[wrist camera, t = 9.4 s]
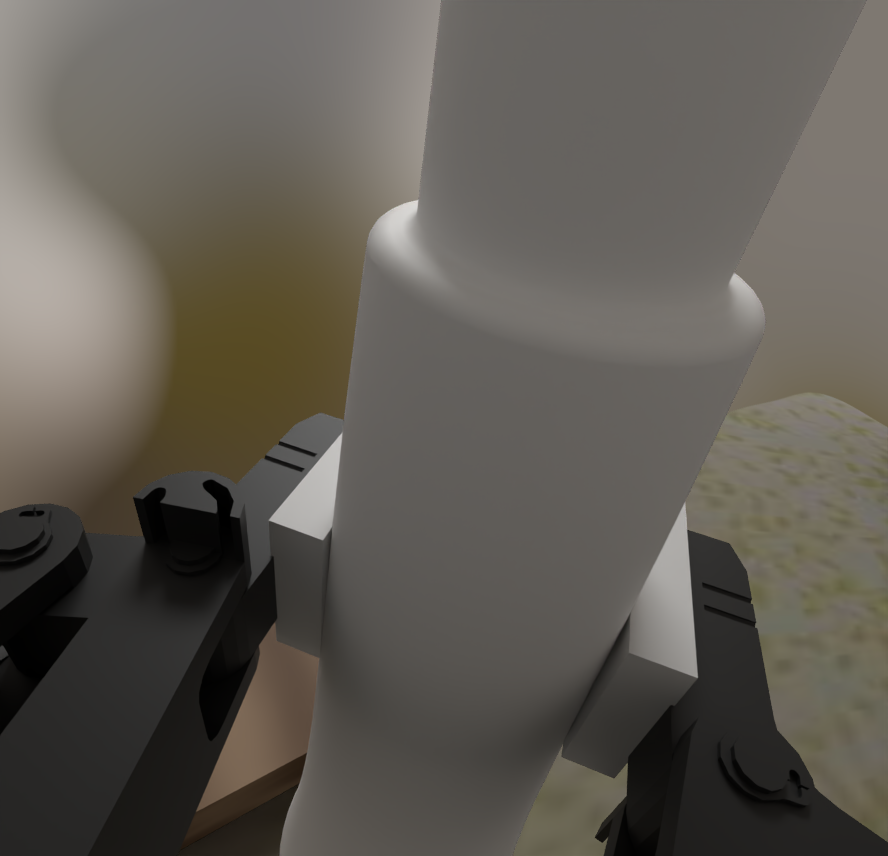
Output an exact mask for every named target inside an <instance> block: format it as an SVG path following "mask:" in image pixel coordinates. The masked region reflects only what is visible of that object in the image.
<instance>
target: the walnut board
mask: <svg viewBox="0 0 888 856" xmlns="http://www.w3.org/2000/svg"><path fill="white" fill-rule="evenodd" d="M259 649H260V656H259V660H258V665H257V669H256V672H255V674H254V676H253V679H252V681H251V683H250V686H249V688H248V691H247V693H246V695H245V698H244V700H243V702H242V705H241V707H240V709H239V712H238V714H237V716H236V719H235V721H234V723H233V726H232V728H231V731H230V733H229V735H228V738H227V740H226V742H225V745H224V747H223V749H222V752H221V754H220V756H219V759H218V761H217V763H216V766H215V768H214V771H213V773H212V775H211V778H210V780H209V782H208V785H207V787H206V789H205V792H204V794H203V796H202V799H201V801H200V803H199V806H198V808H197V810H196V813H195V815H194V818H193V820H192V822H191V825H190V827H189V829H188V832H187V834H186V836H185V839H184V841H183V843H182V846H181V848H180V850H181V849H183V848H185V847H187V846H188V845H190V844H192V843H194V842H196V841H197V840H199V839H201V838H203V837H204V836H206V835H208V834H210V833H212V832H213V831H215V830H217V829H219V828H220V827H222V826H224V825H226V824H228V823H229V822H231V821H233V820H235V819H237V818H238V817H240V816H242V815H244V814H245V813H247V812H249V811H251V810H253V809H254V808H256V807H258V806H260V805H262V804H263V803H265V802H267V801H269V800H270V799H272V798H274V797H276V796H278V795H279V794H281V793H283V792H285V791H286V790H288V789H290V788H292V787H294V786H295V785H297V784H299V783H300V781H301V778H302V774H303V770H304V765H305V761H306V756H307V751H308V746H309V739H310V732H311V725H312V718H313V709H314V701H315V692H316V683H317V674H318V665H319V658H318V657H315V656H313V655H310V654H308V653H305V652H303V651H300V650H298V649H295V648H293V647H291V646H288V645H286V644H283V643H281V642H278V641H276V626H275V623H274V624H273V625H272V627H271V628H270V630H269V631H268V633H267V634H266V636H265V637H264V639H263V640H262V642H261V643H260V645H259Z"/></svg>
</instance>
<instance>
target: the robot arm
mask: <svg viewBox="0 0 888 856" xmlns="http://www.w3.org/2000/svg"><path fill="white" fill-rule="evenodd" d="M343 424H344V420H342V419H339V418H335V417H332V416H329V415H326V414H323V413H319V414H317V415H315V416H312V417H310V418H308V419H306V420H304V421H302V422H299V423H297V424H296V425H295V426H294V427H293V428H292V429H291V430H290V431H289V432H288V433H287V434H286V435H285V436H284V437H283V438H282V439H281V440H280V441H279V444H278V445H275V446H274V447H273V448H272V449H271V450H270V451H269V452H268V453H267V454H266V456H265V458H264V459H261V460H260V461H259V462H258V463H257V464H256V465H255V466H254V467H253V468H252V469H251V470H250V471H249V472H248V473H247V474H246V475H245V476H244V478H242V479H241V481H240V482H238V484H236V485H235V483H233V482H232V481H231V480H230V479H229V478H226V477H224V476H221V475H218V474H216V473H213V472H200V471H188V472H183V473H178V474H172V475H168V476H166V477H163V478H161V479H159V480H157V481H154V482H152V483H150V484H148V485H147V486H146V487H145V488H143V489H142V490H141V491H140V492H139V493H137V494H136V495H135V496H134V497H133V499H134V503H135V506H136V510H137V513H138V517H139V521H140V525H141V528H142V532H143V536H140V537H139V536H138V537H136V536H122V535H108V534H93V533H85V530H84V527H83V525H82V522H81V519H80V517H79V516H78V515H76V514H75V513H74V512H73V511H71V510H70V509H69V508H66V507H62V506H58V505H54V504H34V505H26V506H22V507H18V508H15V509H11V510H7V511H4V512H2V513H0V856H177V855H178V853H179V850H180V848H181V846H182V843H183V841H184V839H185V836H186V834H187V832H188V829H189V827H190V825H191V822H192V820H193V818H194V815H195V813H196V810H197V808H198V806H199V803H200V801H201V799H202V796H203V794H204V792H205V789H206V787H207V785H208V782H209V780H210V778H211V775H212V773H213V771H214V768H215V766H216V763H217V761H218V759H219V756H220V754H221V752H222V749H223V747H224V745H225V742H226V740H227V738H228V735H229V733H230V731H231V728H232V726H233V723H234V721H235V719H236V716H237V714H238V712H239V709H240V707H241V705H242V702H243V700H244V698H245V695H246V693H247V691H248V688H249V686H250V683H251V681H252V679H253V676H254V674H255V672H256V669H257V665H258V660H259V656H260V649H259V645H260V643H261V642H262V640H263V639H264V637H265V636H266V634H267V633H268V631H269V630H270V628H271V627H272V625H273V624H274V623H275V626H276V641H278V642H281V643H283V644H286V645H288V646H291V647H293V648H295V649H298V650H300V651H303V652H305V653H308V654H310V655H313V656H315V657H318V658H320V657H321V645H322V633H323V622H324V611H325V601H326V590H327V579H328V569H329V558H330V547H331V536H332V526H333V515H334V506H335V497H336V488H337V479H338V470H339V461H340V451H341V442H342V433H343ZM751 600H752V597H751V592H750V586H749V581H748V575H747V571H746V569H745V568H744V566H743V564H742V563H741V561H740V560H739V558H738V556H737V555H736V553H735V552H734V550H733V548H732V547H731V545H730V544H729V543H726V542H723V541H720V540H717V539H714V538H711V537H708V536H705V535H702V534H699V533H696V532H693V531H689V530H687V522H686V508H685V503H684V505H683V507H682V509H681V511H680V513H679V516H678V518H677V520H676V522H675V524H674V526H673V528H672V530H671V532H670V534H669V536H668V538H667V540H666V542H665V544H664V546H663V548H662V550H661V552H660V554H659V556H658V558H657V560H656V562H655V564H654V566H653V568H652V570H651V572H650V574H649V576H648V578H647V580H646V582H645V584H644V586H643V588H642V590H641V592H640V594H639V596H638V598H637V600H636V602H635V604H634V606H633V608H632V610H631V612H630V614H629V616H628V618H627V620H626V622H625V624H624V626H623V628H622V630H621V632H620V634H619V636H618V638H617V640H616V642H615V644H614V646H613V648H612V650H611V652H610V654H609V655H608V657H607V659H606V661H605V663H604V665H603V667H602V669H601V671H600V673H599V675H598V677H597V679H596V681H595V683H594V684H593V686H592V688H591V690H590V692H589V694H588V696H587V698H586V699H585V701H584V703H583V705H582V707H581V709H580V711H579V713H578V715H577V716H576V718H575V720H574V722H573V724H572V726H571V728H570V730H569V732H568V733H567V735H566V737H565V739H564V742H563V749H562V757H563V758H566V759H568V760H570V761H573V762H575V763H578V764H580V765H583V766H585V767H588V768H590V769H592V770H595V771H597V772H600V773H602V774H605V775H607V776H610V777H612V778H615V777H616V776H617V775H618V773H619V772H620V771H621V770H622V769H623V767H624V766H625V765H626V764H627V763H628V777H627V796H626V797H625V798H624V799H623V801H622V802H621V803H620V804H619V805H618V806H617V807H616V808H615V809H614V810H613V812H612V813H611V814H610V815H609V816H608V817H607V818H606V819H605V820H604V821H603V823H602V824H601V826H600V828H599V830H598V832H597V834H596V836H595V838H596V839H597V840H599V841H600V842H602V843H603V842H604V841H605V840H606V839H607V838H608V841H607V845H606V849H605V853H604V856H888V842H887V841H885V840H884V839H882V838H881V837H879V836H878V835H877V834H875V833H874V832H872V831H871V830H869V829H868V828H867V827H865V826H864V825H862V824H861V823H859V822H858V821H857V820H855V819H854V818H852V817H851V816H849V815H848V814H847V813H845V812H844V811H842V810H841V809H839V808H838V807H837V806H836V805H834V804H833V803H832V802H831V801H830V800H828V799H827V798H826V797H825V796H823V795H822V794H821V793H820V792H819V791H818V790H817V789H816V788H815V787H814V783H813V779H812V777H811V775H810V774H809V772H808V770H807V768H806V766H805V765H804V763H803V761H802V759H801V757H800V756H799V754H798V753H797V752H796V750H795V749H794V748H793V747H792V746H791V745H790V744H789V743H788V742H787V740H786V739H785V738H784V737H783V736H782V735H781V734H780V733H779V732H778V731H777V728H776V724H775V721H774V717H773V711H772V706H771V700H770V695H769V690H768V684H767V679H766V673H765V668H764V662H763V657H762V652H761V646H760V641H759V635H758V630H757V628H755V623H756V619H755V613H754V608H753V604H751Z"/></svg>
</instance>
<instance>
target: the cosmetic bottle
mask: <svg viewBox="0 0 888 856" xmlns="http://www.w3.org/2000/svg"><path fill="white" fill-rule="evenodd" d="M866 1H867V0H441V8H440V16H439V26H438V35H437V43H436V51H435V60H434V69H433V78H432V86H431V95H430V104H429V112H428V121H427V129H426V139H425V148H424V155H423V164H422V173H421V181H420V190H419V199H418V200H416V201H412V202H408V203H405V204H402V205H400V206H397V207H395V208H393V209H391V210H389V211H388V212H387V213H385V214H384V215H383V216H382V217H380V218H379V219H378V220H377V221H376V223H375V225H374V226H373V228H372V229H371V231H370V233H369V236H368V240H367V246H366V253H365V260H364V267H363V276H362V282H361V291H360V299H359V306H358V314H357V321H356V330H355V337H354V345H353V354H352V361H351V369H350V377H349V385H348V393H347V400H346V408H345V416H344V424H343V433H342V442H341V451H340V461H339V470H338V479H337V488H336V497H335V506H334V515H333V526H332V536H331V547H330V558H329V569H328V579H327V590H326V601H325V611H324V622H323V633H322V645H321V657H320V658H319V665H318V674H317V683H316V692H315V701H314V709H313V718H312V725H311V732H310V739H309V746H308V751H307V756H306V761H305V765H304V770H303V774H302V778H301V781H300V784H299V787H298V789H297V791H296V793H295V795H294V797H293V800H292V802H291V805H290V807H289V810H288V813H287V817H286V820H285V824H284V827H283V832H282V838H281V843H280V854H279V856H513V853H514V850H515V847H516V844H517V841H518V839H519V836H520V834H521V831H522V829H523V826H524V824H525V821H526V819H527V817H528V815H529V812H530V810H531V808H532V806H533V803H534V801H535V799H536V797H537V795H538V793H539V791H540V789H541V787H542V785H543V783H544V781H545V779H546V777H547V775H548V773H549V771H550V769H551V767H552V765H553V763H554V761H555V759H556V757H557V755H558V753H559V751H560V749H561V747H562V745H563V742H564V739H565V737H566V735H567V733H568V732H569V730H570V728H571V726H572V724H573V722H574V720H575V718H576V716H577V715H578V713H579V711H580V709H581V707H582V705H583V703H584V701H585V699H586V698H587V696H588V694H589V692H590V690H591V688H592V686H593V684H594V683H595V681H596V679H597V677H598V675H599V673H600V671H601V669H602V667H603V665H604V663H605V661H606V659H607V657H608V655H609V654H610V652H611V650H612V648H613V646H614V644H615V642H616V640H617V638H618V636H619V634H620V632H621V630H622V628H623V626H624V624H625V622H626V620H627V618H628V616H629V614H630V612H631V610H632V608H633V606H634V604H635V602H636V600H637V598H638V596H639V594H640V592H641V590H642V588H643V586H644V584H645V582H646V580H647V578H648V576H649V574H650V572H651V570H652V568H653V566H654V564H655V562H656V560H657V558H658V556H659V554H660V552H661V550H662V548H663V546H664V544H665V542H666V540H667V538H668V536H669V534H670V532H671V530H672V528H673V526H674V524H675V522H676V520H677V518H678V516H679V513H680V511H681V509H682V507H683V505H684V503H685V501H686V499H687V497H688V495H689V492H690V490H691V488H692V486H693V484H694V482H695V480H696V478H697V476H698V474H699V471H700V469H701V467H702V465H703V463H704V461H705V459H706V457H707V455H708V453H709V450H710V448H711V446H712V444H713V442H714V440H715V438H716V436H717V434H718V431H719V429H720V427H721V425H722V423H723V421H724V419H725V417H726V415H727V413H728V410H729V408H730V406H731V404H732V402H733V400H734V398H735V396H736V394H737V391H738V389H739V387H740V385H741V383H742V381H743V379H744V377H745V375H746V372H747V370H748V368H749V366H750V364H751V362H752V359H753V357H754V355H755V353H756V351H757V349H758V346H759V344H760V342H761V340H762V337H763V335H764V330H765V323H766V319H765V314H764V311H763V306H762V304H761V302H760V300H759V299H758V297H757V295H756V294H755V292H754V291H753V290H752V288H750V286H749V285H748V284H746V282H744V281H743V280H742V279H741V278H740V277H739V276H738V275H737V274H735V273H734V272H735V270H736V268H737V266H738V264H739V262H740V260H741V258H742V255H743V254H744V251H745V249H746V247H747V245H748V243H749V241H750V239H751V237H752V235H753V233H754V231H755V229H756V227H757V225H758V223H759V221H760V219H761V217H762V215H763V212H764V210H765V208H766V206H767V204H768V202H769V200H770V198H771V196H772V194H773V192H774V190H775V188H776V186H777V184H778V182H779V180H780V178H781V175H782V174H783V171H784V169H785V167H786V165H787V163H788V161H789V159H790V157H791V155H792V153H793V151H794V149H795V147H796V145H797V142H798V140H799V139H800V136H801V134H802V132H803V130H804V128H805V126H806V124H807V122H808V120H809V118H810V116H811V114H812V112H813V110H814V108H815V106H816V104H817V102H818V100H819V98H820V95H821V93H822V91H823V89H824V87H825V85H826V83H827V81H828V79H829V77H830V75H831V73H832V71H833V69H834V67H835V65H836V62H837V60H838V58H839V56H840V54H841V52H842V50H843V48H844V46H845V44H846V42H847V40H848V38H849V36H850V34H851V32H852V30H853V28H854V26H855V23H856V22H857V19H858V17H859V15H860V13H861V11H862V9H863V7H864V5H865V3H866Z"/></svg>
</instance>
